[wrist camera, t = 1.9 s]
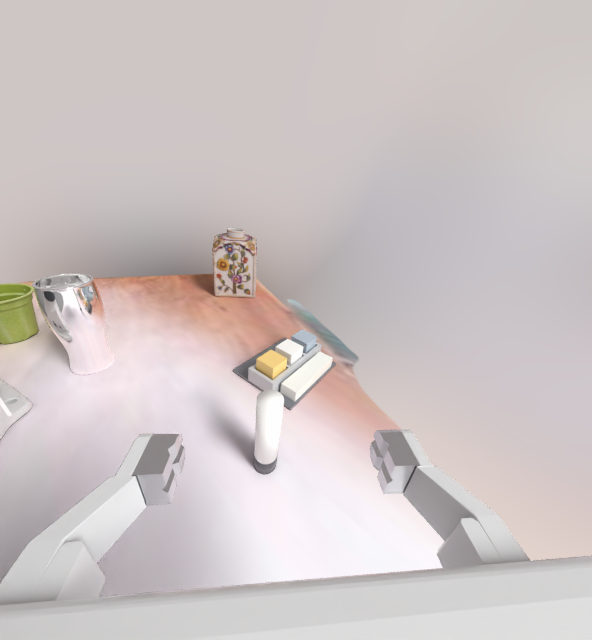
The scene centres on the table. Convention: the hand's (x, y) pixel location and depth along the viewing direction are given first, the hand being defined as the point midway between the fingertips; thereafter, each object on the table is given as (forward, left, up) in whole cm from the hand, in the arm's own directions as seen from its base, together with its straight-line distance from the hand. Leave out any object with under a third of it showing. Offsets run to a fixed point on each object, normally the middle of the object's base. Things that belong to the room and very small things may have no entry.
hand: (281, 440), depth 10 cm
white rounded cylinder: (-8, +9, -21) cm, 24 cm away
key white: (-17, +25, -19) cm, 35 cm away
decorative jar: (-51, +43, -21) cm, 70 cm away
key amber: (-17, +20, -19) cm, 32 cm away
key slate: (-17, +30, -19) cm, 39 cm away
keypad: (-17, +25, -21) cm, 36 cm away
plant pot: (-60, -3, -21) cm, 63 cm away
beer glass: (-42, +3, -21) cm, 47 cm away
